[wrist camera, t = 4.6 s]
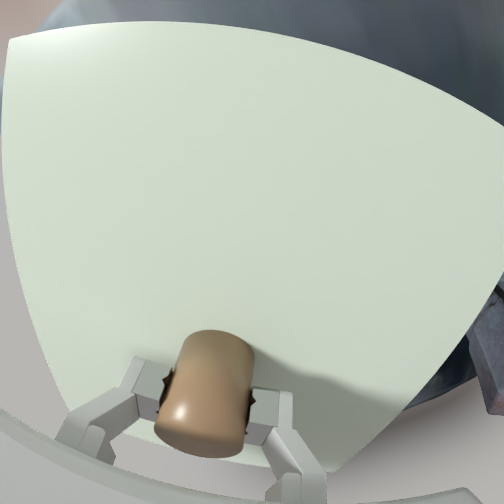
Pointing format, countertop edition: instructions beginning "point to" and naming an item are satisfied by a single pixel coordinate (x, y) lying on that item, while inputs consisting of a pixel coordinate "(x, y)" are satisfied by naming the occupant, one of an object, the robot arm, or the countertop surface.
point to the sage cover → (245, 225)
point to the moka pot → (490, 349)
